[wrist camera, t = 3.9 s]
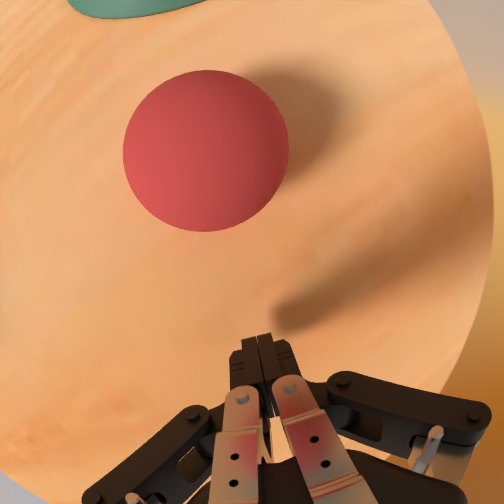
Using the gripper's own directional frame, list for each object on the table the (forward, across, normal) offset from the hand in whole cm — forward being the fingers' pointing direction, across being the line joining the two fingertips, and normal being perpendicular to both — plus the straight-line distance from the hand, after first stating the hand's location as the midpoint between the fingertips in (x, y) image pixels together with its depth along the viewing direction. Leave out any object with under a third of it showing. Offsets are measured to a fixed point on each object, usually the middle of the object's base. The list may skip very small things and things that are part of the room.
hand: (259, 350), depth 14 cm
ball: (-1, 0, -10) cm, 10 cm away
